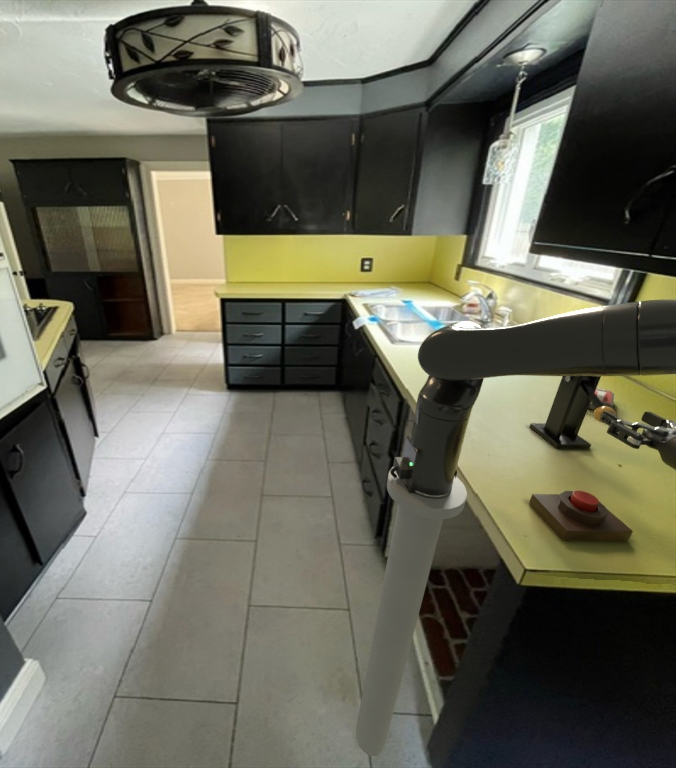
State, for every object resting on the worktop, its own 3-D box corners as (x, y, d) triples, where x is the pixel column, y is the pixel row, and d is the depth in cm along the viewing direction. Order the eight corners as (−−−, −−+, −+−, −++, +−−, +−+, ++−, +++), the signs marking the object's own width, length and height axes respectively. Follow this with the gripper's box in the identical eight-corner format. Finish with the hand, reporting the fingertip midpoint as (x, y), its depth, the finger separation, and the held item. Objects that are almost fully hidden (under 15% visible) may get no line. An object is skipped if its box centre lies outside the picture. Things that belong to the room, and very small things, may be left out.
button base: (563, 540, 61) (571, 522, 59) (528, 502, 69) (535, 486, 67) (628, 540, 61) (638, 522, 59) (586, 503, 69) (593, 486, 68)
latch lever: (611, 426, 78) (624, 417, 75) (595, 426, 78) (607, 416, 75) (579, 379, 86) (590, 369, 84) (564, 378, 86) (574, 369, 84)
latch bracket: (589, 448, 86) (619, 380, 79) (556, 448, 86) (582, 379, 79) (559, 427, 95) (583, 364, 88) (529, 427, 95) (550, 363, 88)
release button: (580, 512, 62) (583, 504, 61) (564, 497, 65) (567, 490, 64) (601, 512, 62) (604, 504, 61) (584, 498, 65) (588, 490, 64)
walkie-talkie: (575, 391, 116) (568, 413, 102) (580, 379, 114) (574, 399, 100) (611, 400, 110) (609, 424, 97) (617, 386, 109) (615, 409, 95)
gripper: (767, 443, 57) (666, 398, 72) (678, 443, 57) (595, 398, 72) (742, 481, 60) (650, 431, 75) (658, 481, 60) (582, 430, 75)
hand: (623, 415), depth 74 cm, fingers open, 8 cm apart
